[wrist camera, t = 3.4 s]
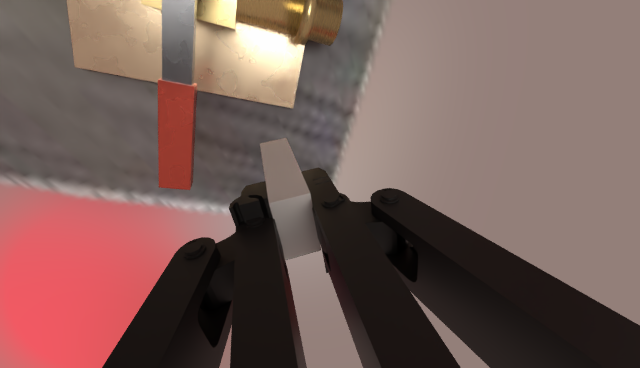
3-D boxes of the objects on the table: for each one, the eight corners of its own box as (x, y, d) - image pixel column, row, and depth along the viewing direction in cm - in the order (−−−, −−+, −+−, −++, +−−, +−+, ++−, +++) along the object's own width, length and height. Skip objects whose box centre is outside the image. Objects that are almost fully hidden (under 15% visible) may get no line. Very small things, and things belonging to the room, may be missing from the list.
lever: (153, -83, 16) (144, -94, 14) (213, -61, 17) (210, -70, 15) (156, 178, 22) (151, 187, 21) (199, 182, 23) (196, 190, 22)
